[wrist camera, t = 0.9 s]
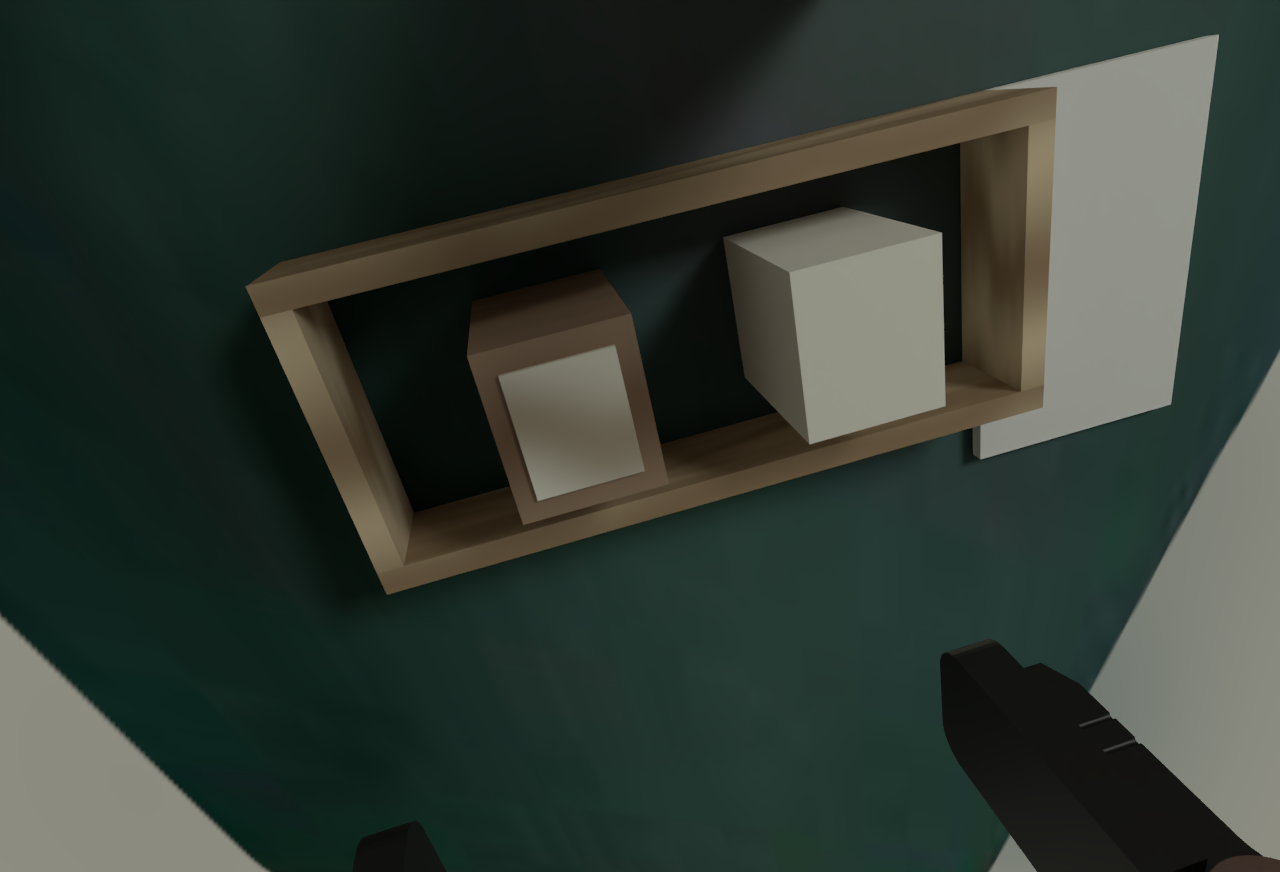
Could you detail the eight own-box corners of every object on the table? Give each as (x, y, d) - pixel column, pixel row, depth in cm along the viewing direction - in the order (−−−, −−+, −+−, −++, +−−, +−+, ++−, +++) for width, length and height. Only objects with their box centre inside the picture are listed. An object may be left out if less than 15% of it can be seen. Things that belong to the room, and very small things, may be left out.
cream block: (722, 237, 28) (789, 272, 22) (842, 206, 29) (942, 232, 22) (744, 377, 31) (809, 444, 24) (854, 347, 31) (945, 406, 25)
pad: (971, 93, 28) (981, 92, 27) (1205, 35, 28) (1219, 34, 28) (972, 454, 35) (980, 459, 34) (1160, 400, 35) (1170, 404, 35)
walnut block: (472, 300, 27) (466, 357, 21) (599, 268, 28) (632, 314, 21) (516, 438, 30) (523, 527, 24) (631, 407, 30) (669, 486, 24)
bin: (280, 262, 25) (245, 286, 22) (983, 90, 28) (1057, 86, 24) (399, 538, 31) (386, 594, 27) (982, 375, 33) (1042, 407, 29)
